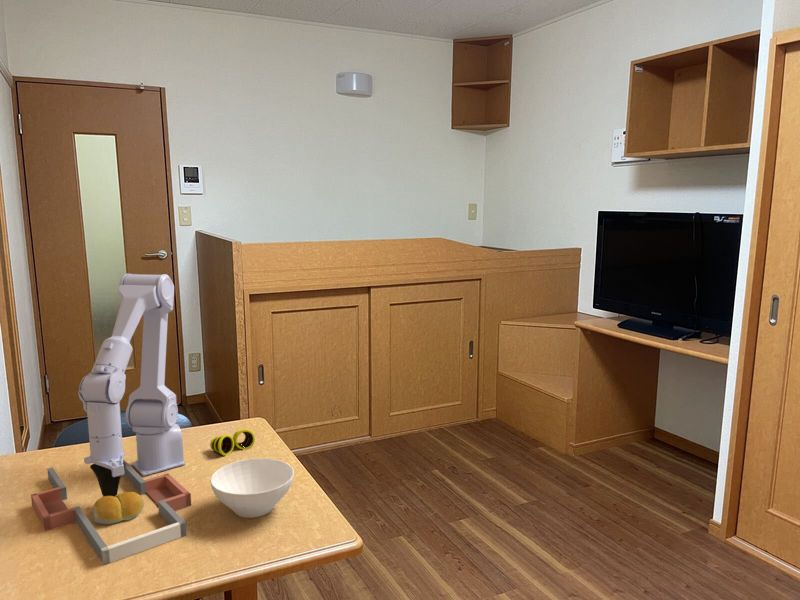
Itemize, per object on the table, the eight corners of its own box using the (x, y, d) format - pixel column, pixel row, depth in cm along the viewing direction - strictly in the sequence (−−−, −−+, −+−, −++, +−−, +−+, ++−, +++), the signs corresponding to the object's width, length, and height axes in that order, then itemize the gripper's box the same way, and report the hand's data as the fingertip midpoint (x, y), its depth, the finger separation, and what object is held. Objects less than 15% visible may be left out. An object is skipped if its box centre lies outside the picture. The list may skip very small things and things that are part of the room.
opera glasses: (246, 445, 152) (243, 425, 152) (256, 447, 148) (254, 427, 148) (210, 456, 145) (207, 435, 145) (220, 458, 141) (217, 437, 141)
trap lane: (139, 456, 142) (138, 446, 142) (212, 525, 112) (212, 513, 111) (21, 486, 127) (20, 475, 126) (70, 577, 96) (68, 562, 96)
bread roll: (148, 516, 115) (147, 496, 115) (97, 530, 110) (95, 510, 110) (138, 498, 122) (137, 480, 121) (89, 511, 117) (88, 492, 116)
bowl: (241, 539, 107) (240, 503, 106) (196, 509, 118) (194, 475, 117) (311, 507, 119) (310, 474, 118) (264, 482, 130) (263, 451, 129)
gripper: (73, 427, 120) (78, 490, 122) (93, 449, 109) (98, 518, 111) (111, 419, 124) (115, 480, 127) (133, 440, 114) (138, 506, 116)
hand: (110, 497), depth 119 cm, fingers closed
